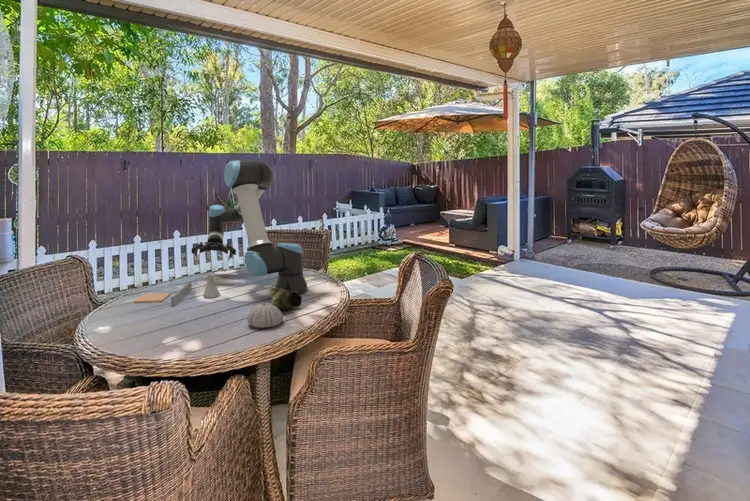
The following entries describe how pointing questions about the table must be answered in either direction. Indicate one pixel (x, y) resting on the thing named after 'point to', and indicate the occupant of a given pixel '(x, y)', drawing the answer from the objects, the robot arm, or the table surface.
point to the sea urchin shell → (265, 316)
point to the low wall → (181, 294)
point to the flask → (211, 288)
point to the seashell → (285, 299)
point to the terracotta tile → (152, 297)
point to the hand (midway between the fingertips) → (213, 257)
